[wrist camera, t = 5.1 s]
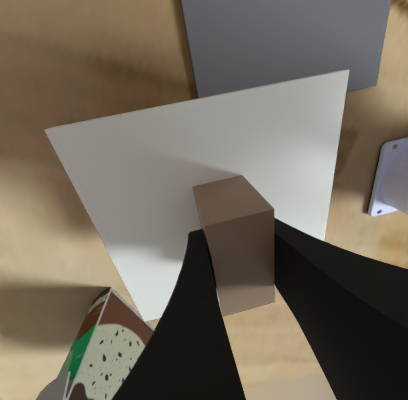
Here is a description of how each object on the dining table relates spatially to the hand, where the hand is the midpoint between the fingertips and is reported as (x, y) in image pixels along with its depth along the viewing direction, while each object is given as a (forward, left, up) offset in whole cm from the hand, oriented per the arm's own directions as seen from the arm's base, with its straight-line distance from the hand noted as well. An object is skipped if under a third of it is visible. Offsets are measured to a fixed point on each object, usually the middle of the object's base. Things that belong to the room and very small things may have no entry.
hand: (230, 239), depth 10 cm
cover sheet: (0, 0, -2) cm, 2 cm away
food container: (+13, +15, -9) cm, 22 cm away
